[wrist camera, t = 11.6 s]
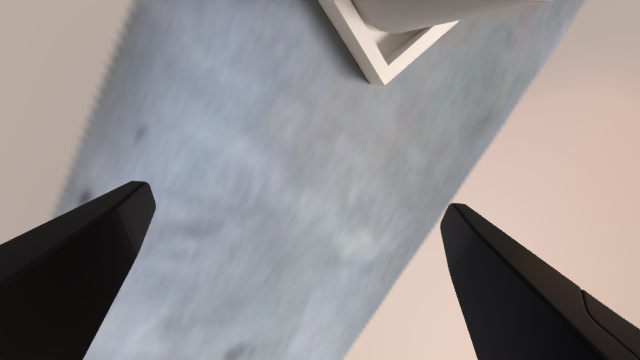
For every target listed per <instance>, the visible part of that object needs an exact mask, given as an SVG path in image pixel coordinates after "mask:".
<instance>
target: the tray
mask: <svg viewBox="0 0 640 360" xmlns="http://www.w3.org/2000/svg"><path fill="white" fill-rule="evenodd" d="M318 2H319V3H320V5H321V6H322V8H323V10H324V11H325V13H326V14H327V16H328V18H329V19H330V21H331V22H332V24H333V25H334V27H335V29H336V30H337V32H338V33H339V35H340V37H341V38H342V40H343V41H344V43H345V45H346V46H347V48H348V49H349V51H350V53H351V54H352V56H353V57H354V59H355V61H356V62H357V64H358V65H359V67H360V69H361V70H362V72H363V73H364V75H365V77H366V78H367V80H368V81H369V83H370V84H374V85H386V84H387V83H388V82H389V81H390V80H392V79H393V78H394V77H395V76H396V75H397V74H398V73H400V72H401V71H402V70H403V69H404V68H405V67H406V66H408V65H409V64H410V63H411V62H412V61H413V60H414V59H416V58H417V57H418V56H419V55H420V54H421V53H423V52H424V51H425V50H426V49H427V48H428V47H429V46H431V45H432V44H433V43H434V42H435V41H436V40H437V39H439V38H440V37H441V36H442V35H443V34H444V33H445V32H447V31H448V30H449V29H450V28H451V27H452V26H454V25H455V24H456V23H457V22H458V21H454V22H449V23H445V24H440V25H435V26H431V27H426V28H421V29H416V30H412V31H407V32H402V33H398V34H397V33H390V32H384V31H379V30H378V29H376V28H374V27H373V26H371V25H369V24H368V23H366V22H364V21H363V20H362V18H361V17H360V16H359V14H358V13H357V11H356V9H355V7H354V6H353V4H352V2H351V0H318Z"/></svg>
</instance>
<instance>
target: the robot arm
mask: <svg viewBox="0 0 640 360" xmlns="http://www.w3.org/2000/svg"><path fill="white" fill-rule="evenodd" d="M155 209H156V203H155V200H154V197H153V194H152V191H151V188H150V185H149V184H148V183H147V182H143V181H131V182H129V183H126V184H124V185H122V186H120V187H118V188H116V189H114V190H112V191H110V192H108V193H106V194H104V195H102V196H100V197H98V198H96V199H94V200H92V201H89V202H87V203H85V204H83V205H81V206H79V207H77V208H75V209H73V210H71V211H69V212H67V213H65V214H63V215H61V216H59V217H57V218H54V219H52V220H50V221H48V222H46V223H44V224H42V225H40V226H38V227H36V228H34V229H32V230H30V231H28V232H26V233H24V234H22V235H20V236H17V237H15V238H13V239H11V240H9V241H7V242H5V243H3V244H1V245H0V360H83V358H84V356H85V354H86V353H87V351H88V349H89V347H90V345H91V343H92V341H93V339H94V337H95V336H96V334H97V332H98V330H99V328H100V326H101V324H102V322H103V320H104V318H105V317H106V315H107V313H108V311H109V309H110V307H111V305H112V303H113V301H114V300H115V298H116V296H117V294H118V292H119V290H120V288H121V286H122V284H123V282H124V281H125V279H126V277H127V275H128V273H129V271H130V269H131V267H132V265H133V263H134V261H135V259H136V257H137V255H138V253H139V251H140V248H141V246H142V243H143V241H144V238H145V236H146V233H147V230H148V228H149V225H150V223H151V220H152V218H153V215H154V212H155ZM440 226H441V227H440V229H441V234H442V239H443V244H444V249H445V254H446V259H447V263H448V268H449V272H450V276H451V279H452V283H453V285H454V289H455V292H456V294H457V298H458V301H459V304H460V306H461V310H462V313H463V316H464V319H465V322H466V325H467V328H468V331H469V334H470V337H471V340H472V343H473V346H474V349H475V352H476V356H477V359H478V360H640V329H639V328H637V327H636V326H634V325H633V324H631V323H630V322H628V321H627V320H625V319H624V318H622V317H621V316H619V315H618V314H617V313H615V312H614V311H612V310H611V309H609V308H608V307H607V306H605V305H604V304H602V303H601V302H600V301H598V300H597V299H595V298H594V297H592V296H591V295H590V294H589V293H587V292H586V291H585V290H581V289H580V287H579V286H577V285H576V284H575V283H573V282H572V281H571V280H569V279H568V278H566V277H565V276H564V275H562V274H561V273H560V272H558V271H557V270H555V269H554V268H553V267H551V266H550V265H548V264H547V263H546V262H544V261H543V260H541V259H540V258H539V257H537V256H536V255H535V254H533V253H532V252H531V251H529V250H527V249H526V248H525V247H524V246H522V245H521V244H519V243H518V242H517V241H515V240H514V239H512V238H511V237H510V236H508V235H507V234H506V233H504V232H503V231H502V230H500V229H499V228H497V227H496V226H494V225H493V224H492V223H490V222H489V221H488V220H486V219H485V218H484V217H482V216H481V215H479V214H478V213H477V212H475V211H474V210H472V209H471V208H470V207H468V206H467V205H465V204H460V203H451V204H450V205H449V206H448V208H447V210H446V212H445V215H444V217H443V219H442V221H441V225H440Z"/></svg>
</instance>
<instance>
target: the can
mask: <svg viewBox="0 0 640 360" xmlns="http://www.w3.org/2000/svg"><path fill="white" fill-rule="evenodd" d="M547 1H552V0H351V2H352V4H353V6H354V7H355V9H356V11H357V13H358V14H359V16H360V17H361V18H362V20H363V21H364V22H366V23H368V24H369V25H371V26H373V27H374V28H376V29H378V30H379V31H384V32H390V33H397V34H398V33H402V32H407V31H412V30H416V29H421V28H426V27H431V26H435V25H440V24H445V23H449V22H454V21H459V20H463V19H468V18H473V17H477V16H482V15H487V14H491V13H496V12H501V11H505V10H510V9H515V8H519V7H524V6H529V5H533V4H538V3H543V2H547Z"/></svg>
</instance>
